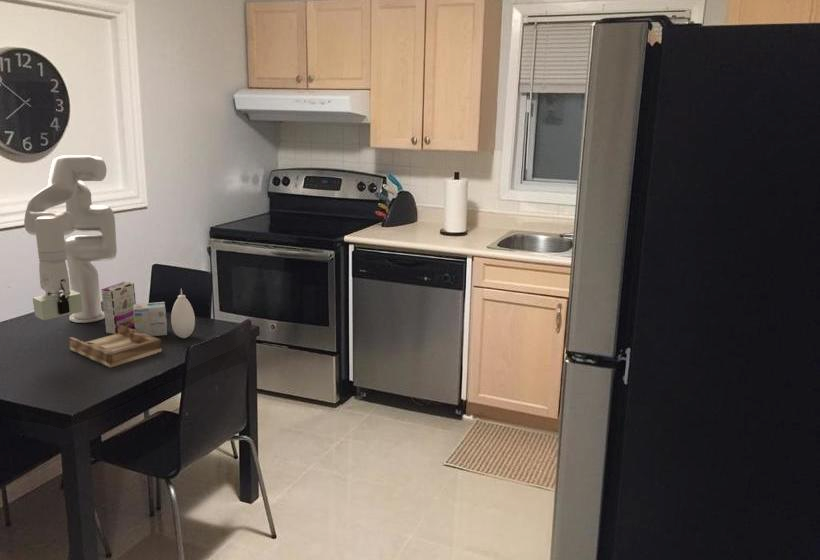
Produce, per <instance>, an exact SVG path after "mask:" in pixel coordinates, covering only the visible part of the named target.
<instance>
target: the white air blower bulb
mask: <svg viewBox="0 0 820 560" xmlns="http://www.w3.org/2000/svg"><path fill="white" fill-rule="evenodd" d="M170 322H171V328H172V331H173V333H174V334H175V335H176V336H178V337H179V338H181V339H186V338H188V337H190V335H191V334H193V331H194V329H195V325H196V318H195V311H194V309H193V306H192V304H191V303H190V301H189V300H188V298H186V295H185V294H183V290H182V288H180V294H179V295H177V299H176V300H175V302H174V304H173V306H172V310H171V314H170Z"/></svg>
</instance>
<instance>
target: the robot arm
mask: <svg viewBox="0 0 820 560" xmlns="http://www.w3.org/2000/svg"><path fill="white" fill-rule="evenodd" d="M106 176H107V166H106V163H105V160H104V159H102V157H99V156H92V155H60V156H58V157H56V158H54V159H53V160H52V164H51V168H50V172H49V176H48V177H49V178H48V183H47V186H46V187H45V188H43V189H41V190H40V191H39V192H37V193H36V194H35V195H33V196H32V197H31V199H29V201H28V203H27V205H26V209H25V214H24V219H23V222H24V223H23V224H24V229H25V231H26V232H27V233H28V234H29V235H31V236H35V238H36V246H37V256H38V261H39V264H38V266H39V268H38V269H39V271H38V272H39V283H40V284H39V286H40V288H41V290H43V291H45V295H49V294H56V295H57V298H58V301H59V302H57V305H58V313H59V314H65V313H69V312H70V310H69V302H68V301H69V295H70V291H69V290H73V291H76V292H78V293H80V294H81V301H82V311H83V312H78V313H74V314H69V316H68V317H69V321H70V322H73V323H79V324H80V323H81V324H86V323H94V322H98V321H101V320H105V316H104V310H102V302H101V292H100V281H99V271H98V270H97V268H96V267H95V265H93V263H91V262H106V261H112V260H114V259H116V257H117V252H118V251H117V249H118V248H117V234H116V233H117V232H116V231H117V230H116V218H115V214H114V211H113V209H112V208H111V207H109V206H107V205H93V203H92V193H91V190H90V188H89V187H88V186H87V185H86V184H85V183H84V182H102V181H104V179H105V178H106ZM63 204H65V211H63V210H62V211H60V210H59V211H52V210H51V211H50V210H48V209H51V208H53V207H57V206H61V205H63ZM46 210H48V211H46ZM74 232H77V233H79V232H81V233H82V232H83V233H84V232H85V233H89V232H94V233H97V232H98V233H99V232H100V233H101V234H99V235H98V234H97V235H95V234H94V235H93V234H90V235H84V234H83V235H73V236H69V237H67V238H65V236H68V235H71V234H72V233H74ZM66 262H67V263H66ZM60 294H63V295H62V296H60Z"/></svg>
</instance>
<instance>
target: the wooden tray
mask: <svg viewBox="0 0 820 560" xmlns="http://www.w3.org/2000/svg"><path fill="white" fill-rule="evenodd" d="M117 327H118V333H117V334H110V335H106V336H102V337H98V338H96V339H91V340H89V341H83V340H81V339H78V338H75V337H74V336H71V337H69V338H68V341H69V342H68V343H69V350H70V351H72V352H74V353H77V354H79V355H82V356H84V357H86V358H88V359H90V360H92V361H95V362H97V363H99V364H102V365H104V366H106V367H108V368H113V367H117V366H119V365H123V364H126V363H130V362H133V361H136V360H139V359H143V358H145V357H150V356H151V355H155V354H158V352H159V353H161V351H162V352H163V349H162V339H160V338H157V337H156V336H150V335H147V334H145V333H142V332H139V331H136V330H135V328H128V327H126V326H123V325H117Z"/></svg>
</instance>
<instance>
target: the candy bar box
mask: <svg viewBox="0 0 820 560" xmlns="http://www.w3.org/2000/svg"><path fill="white" fill-rule="evenodd" d="M101 297H102V306H103V311H104V316H105V318H104V324H105V332H106V334H110V335H113V334H117V333H118V327H117V325H123V326H126V327H128V328H131V329H134V328H135V326H134V315H133V306H134V304H137V301H136V292H135V283H134V282H128V281H122V282H120V283H116V284H113V285H111V286H107V287H104V288H102V289H101Z"/></svg>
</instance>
